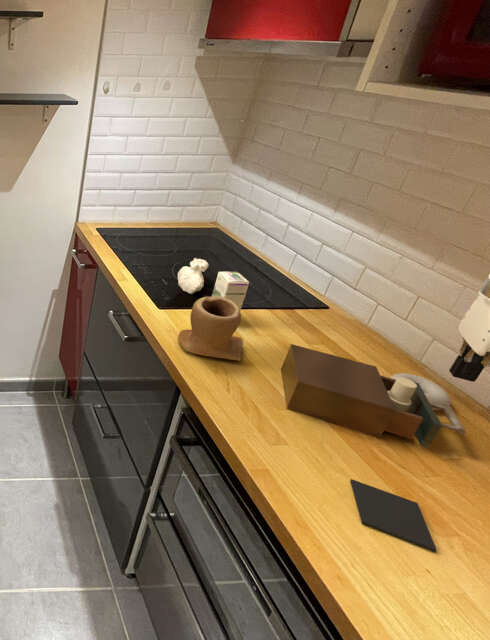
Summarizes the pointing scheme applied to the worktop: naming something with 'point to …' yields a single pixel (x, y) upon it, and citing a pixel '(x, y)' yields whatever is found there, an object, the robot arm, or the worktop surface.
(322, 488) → the worktop surface
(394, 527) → the mat
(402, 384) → the cream stepped cylinder
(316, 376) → the cabinet
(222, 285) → the syrup box
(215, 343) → the stone cup
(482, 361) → the robot arm
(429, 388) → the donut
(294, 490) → the worktop surface
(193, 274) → the white lumpy blob
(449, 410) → the drawer
